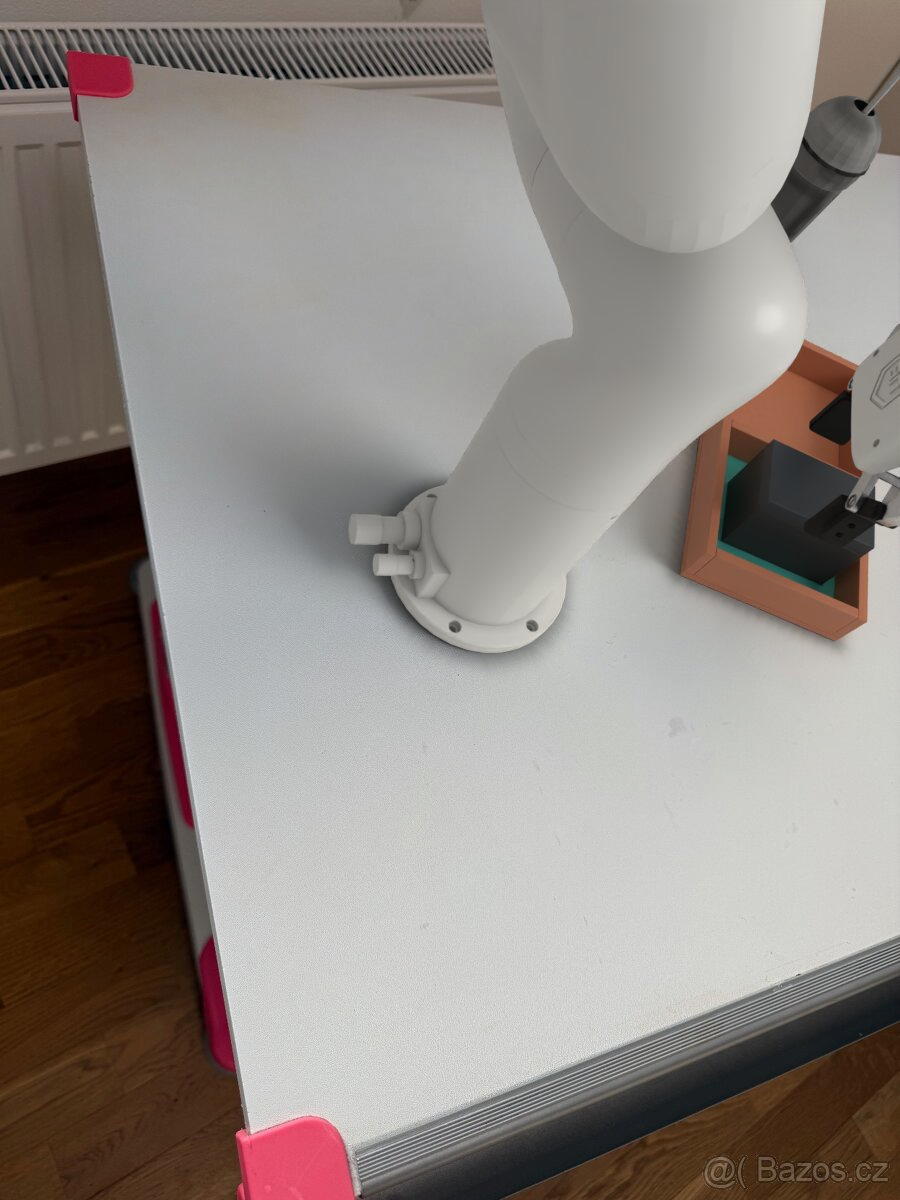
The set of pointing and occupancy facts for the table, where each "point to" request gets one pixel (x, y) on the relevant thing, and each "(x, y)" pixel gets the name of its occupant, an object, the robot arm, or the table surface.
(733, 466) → the divided orange tray
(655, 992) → the table surface
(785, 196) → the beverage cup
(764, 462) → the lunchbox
